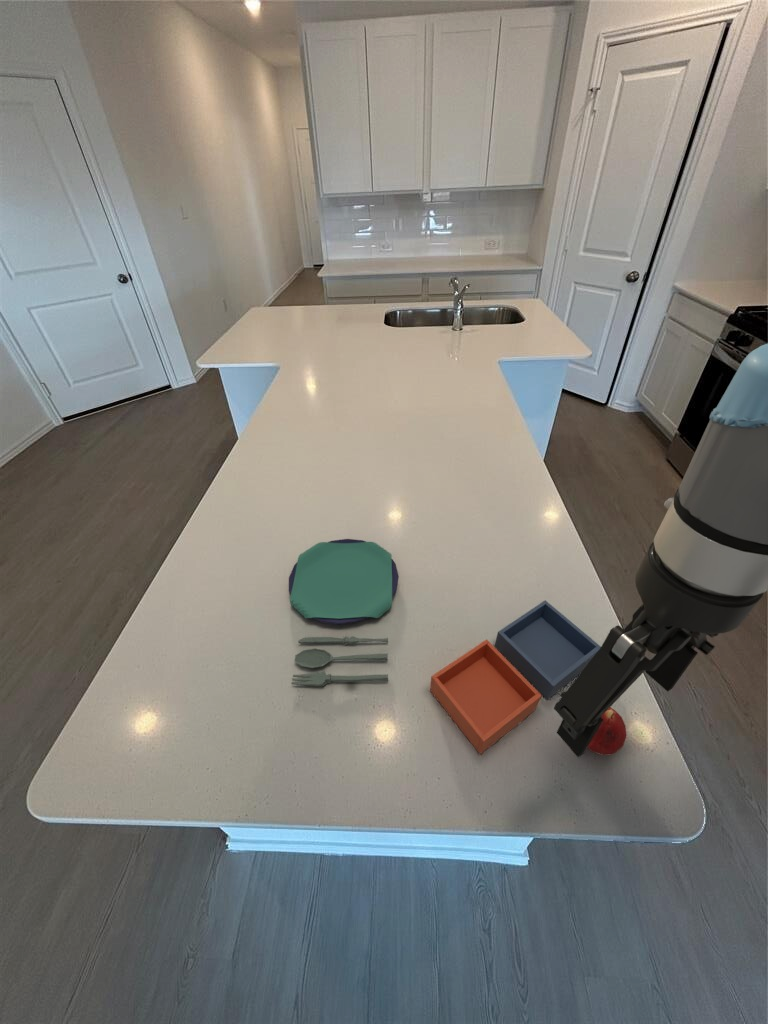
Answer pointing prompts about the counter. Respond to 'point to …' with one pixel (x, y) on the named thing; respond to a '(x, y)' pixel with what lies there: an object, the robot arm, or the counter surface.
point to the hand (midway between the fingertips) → (616, 709)
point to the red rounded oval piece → (609, 734)
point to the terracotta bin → (484, 694)
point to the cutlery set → (341, 598)
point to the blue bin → (546, 648)
